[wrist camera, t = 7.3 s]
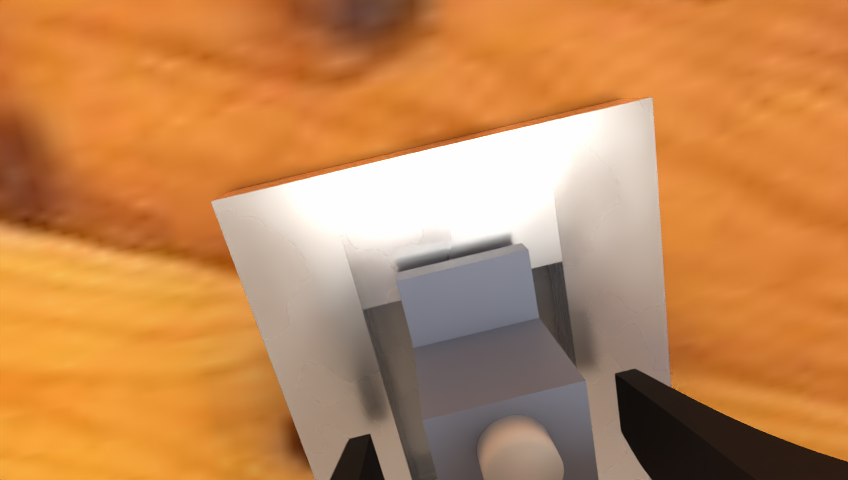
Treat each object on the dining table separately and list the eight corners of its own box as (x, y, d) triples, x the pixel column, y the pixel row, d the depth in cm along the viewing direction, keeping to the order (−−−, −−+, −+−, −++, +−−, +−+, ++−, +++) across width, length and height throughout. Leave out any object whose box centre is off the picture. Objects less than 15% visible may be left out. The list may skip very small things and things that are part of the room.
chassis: (655, 501, 18) (680, 538, 16) (368, 573, 18) (366, 617, 16) (621, 98, 13) (652, 97, 12) (231, 190, 13) (211, 201, 11)
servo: (545, 472, 17) (635, 675, 11) (456, 493, 17) (496, 710, 11) (502, 225, 14) (592, 312, 8) (394, 250, 14) (401, 358, 8)
